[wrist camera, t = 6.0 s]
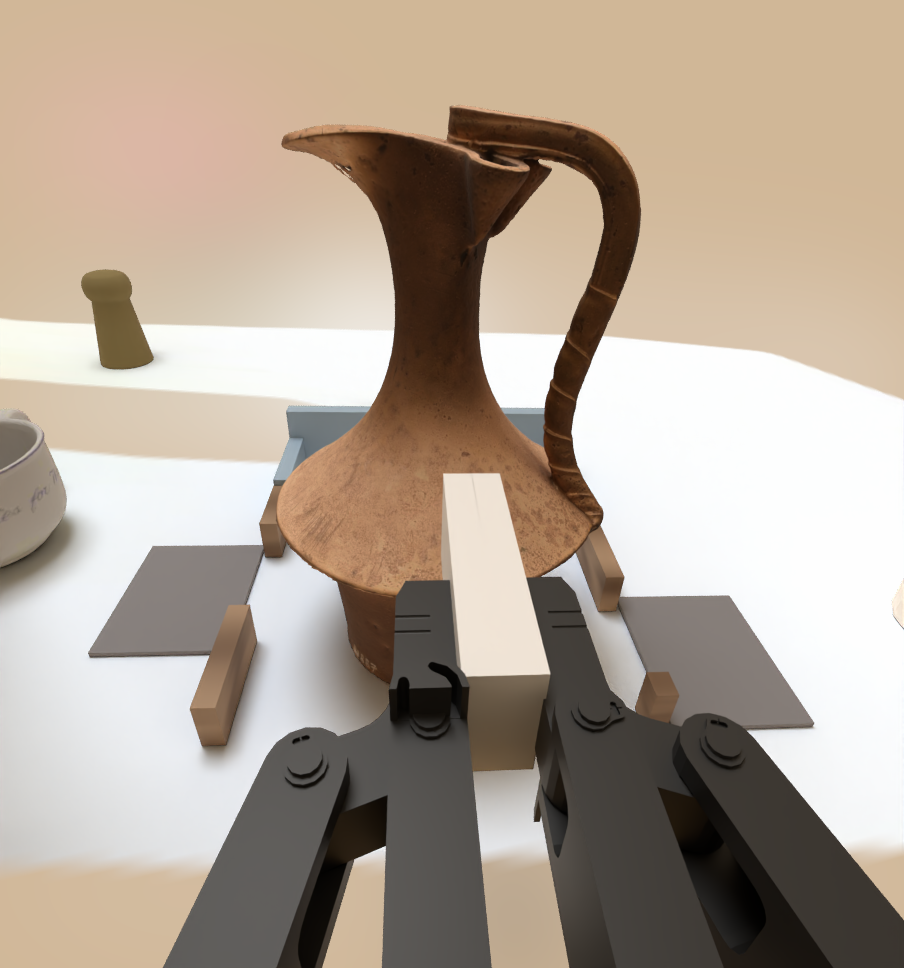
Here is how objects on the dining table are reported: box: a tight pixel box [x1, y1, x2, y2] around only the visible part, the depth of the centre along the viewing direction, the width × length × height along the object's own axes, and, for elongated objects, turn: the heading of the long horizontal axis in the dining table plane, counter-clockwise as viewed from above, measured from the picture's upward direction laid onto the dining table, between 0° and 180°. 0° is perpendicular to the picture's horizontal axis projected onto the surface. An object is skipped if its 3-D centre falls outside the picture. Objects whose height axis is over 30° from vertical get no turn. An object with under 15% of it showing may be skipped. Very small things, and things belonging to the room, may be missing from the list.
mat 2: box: [618, 596, 814, 729], centre depth 35 cm, size 10×8×1 cm
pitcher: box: [276, 105, 641, 683], centre depth 29 cm, size 18×17×28 cm
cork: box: [81, 270, 153, 369], centre depth 70 cm, size 6×6×11 cm
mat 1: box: [88, 545, 264, 657], centre depth 38 cm, size 10×8×1 cm
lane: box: [190, 486, 679, 746], centre depth 38 cm, size 20×24×3 cm
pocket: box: [273, 406, 545, 486], centre depth 49 cm, size 8×24×6 cm, turn 93°
